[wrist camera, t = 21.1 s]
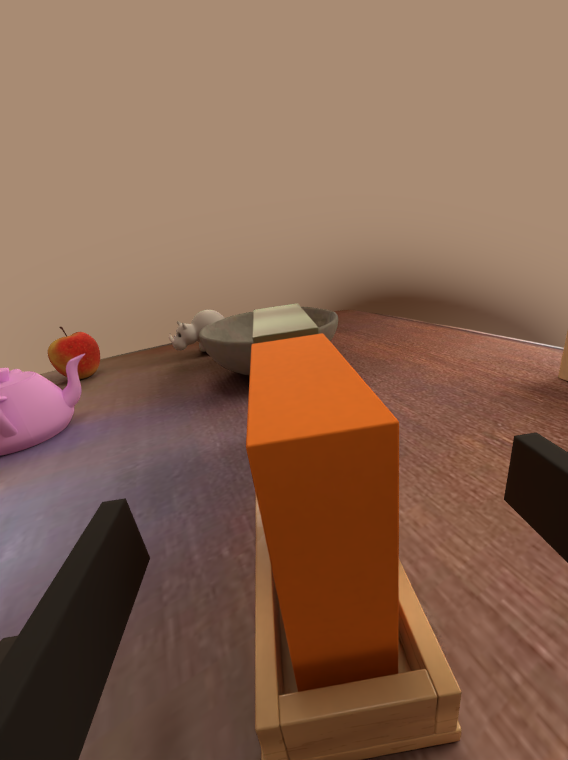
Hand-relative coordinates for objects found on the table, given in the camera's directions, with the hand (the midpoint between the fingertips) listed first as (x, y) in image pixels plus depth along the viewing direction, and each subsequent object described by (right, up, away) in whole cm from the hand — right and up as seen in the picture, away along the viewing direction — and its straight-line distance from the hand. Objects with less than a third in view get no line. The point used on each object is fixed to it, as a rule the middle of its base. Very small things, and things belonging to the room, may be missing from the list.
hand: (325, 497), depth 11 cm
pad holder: (0, -5, +11) cm, 13 cm away
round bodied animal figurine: (-18, +9, +54) cm, 58 cm away
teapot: (-34, -3, +30) cm, 45 cm away
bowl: (-3, +6, +40) cm, 41 cm away
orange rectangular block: (+1, -7, +6) cm, 9 cm away
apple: (-40, +4, +51) cm, 65 cm away
